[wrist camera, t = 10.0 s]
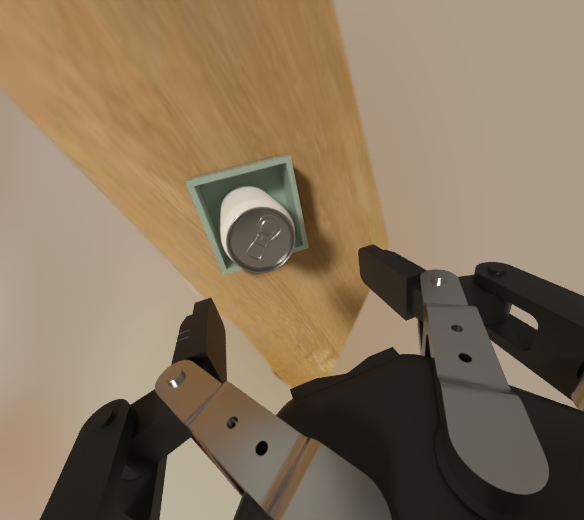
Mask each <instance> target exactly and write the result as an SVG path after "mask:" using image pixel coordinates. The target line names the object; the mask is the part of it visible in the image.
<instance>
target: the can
mask: <svg viewBox="0 0 584 520" xmlns="http://www.w3.org/2000/svg"><path fill="white" fill-rule="evenodd" d="M220 233H221V242H222V245H223V248H224V250H225V252H226V254H227V255H228V256H229V258H230V259H231V260H232V261H233V262H234V263H235V264H236V265H238V266H239V267H240V268H242V269H244V270H246V271H248V272H252V273H267V272H271V271H274V270H276V269H278V268H279V267H281V266H282V265H283V264H285V263H286V262H287V260H288V259H289V258H290V256H291V255H292V253H293V250H294V247H295V241H296V236H295V228H294V223H293V221H292V218H291V216H290V215H289V213H288V212H287V211H286V209H285V208H284V207H283V206H281V205H280V204H279V203H278V202H277V201H276V200H274V199H273V198H272V197H271V196H269V195H268V194H267V193H266V192H264V191H263V190H261V189H259V188H257V187H254V186H250V185H243V186H238V187H236V188H234V189H232V190H231V191H229V192H228V193H227V195H226V196H225V197H224V199H223V201H222V205H221V214H220Z"/></svg>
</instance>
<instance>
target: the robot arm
mask: <svg viewBox="0 0 584 520" xmlns="http://www.w3.org/2000/svg"><path fill="white" fill-rule="evenodd" d="M358 256H359V267H360V275H361V278H362V280H363V282H364V283H365V284H366V285H367V286H368V287H369V288H370V289H371V290H372V291H373V292H375V293H376V294H377V295H378V296H379V297H380V298H381V299H382V300H384V301H385V302H386V303H387V304H388V305H389V306H390V307H391V308H393V310H395V311H396V312H397V313H398V314H399V315H400V316H401V317H402V318H404V319H405V320H409V319H411V318H414V317H416V318H417V319H418V333H419V343H420V353H421V355H415V354H401V355H399V354H398V353H397V352H396V351H395V349H394V348H393V347H391V348H389V349H387V350H384V351H382V352H379V353H377V354H374V355H372V356H370V357H368V358H367V359H365V360H364V361H363V362H362V363H360V364H359V365H358V366H356V367H355V368H354V369H352V370H351V371H350V372H348V373H346V374H342V375H336V376H329V377H322V378H316V379H314V380H311V381H309V382H307V383H304V384H302V385H299V386H297V387H295V388H292V389H290V391H291V394H292V397H293V399H292V400H290V401H289V402H288V403H287V404H286V405H285V406H284V407H283V408H282V409H281V410H280V411H279V412H278V414H277V415H274V414H273V413H271V412H270V411H269V410H267V409H266V408H264V407H263V406H262V405H260V404H259V403H258V402H256V401H255V400H253V399H252V398H251V397H249V396H248V395H247V394H245V393H244V392H242V391H241V390H240V389H238V388H237V387H235V386H234V385H233V384H231V383H230V382H228V381H227V373H226V337H225V328H224V325H223V322H222V320H221V317H220V315H219V313H218V311H217V309H216V307H215V304H214V302H213V300H212V299H211V298H208V299H205V300H202V301H199V302H196V303H195V304H194V310H193V314H192V315H189V316H187V317H186V318H185V319H184V321H183V322H182V324H181V326H180V330H179V335H178V339H177V343H176V347H175V351H174V356H173V360H172V365H171V366H169V367H168V368H167V369H166V370H165V371H164V372H163V373H162V374H161V375H160V376H159V378H158V380H157V382H156V384H155V389H154V390H153V391H151V392H150V393H148V394H147V395H145V396H144V397H142V398H141V399H139V400H137V401H136V402H134V403H133V404H131V405H130V404H129V403H128V402H127V401H126V400H124V399H118V400H114V401H111V402H109V403H107V404H106V405H104V406H102V407H101V408H100V409H98V410H97V411H96V412H95V413H94V414H93V415H92V416H91V417H90V418H89V419H88V420H87V421H86V423H85V424H84V425H83V427H82V429H81V430H80V432H79V435H78V437H77V439H76V441H75V444H74V446H73V448H72V450H71V452H70V454H69V457H68V459H67V461H66V463H65V465H64V468H63V470H62V472H61V474H60V477H59V479H58V481H57V483H56V485H55V487H54V490H53V492H52V494H51V496H50V499H49V501H48V503H47V505H46V507H45V510H44V512H43V514H42V516H41V518H40V520H159V517H160V510H161V501H162V494H163V486H164V478H165V470H166V460H167V455H168V454H169V453H171V452H172V451H173V450H175V449H176V448H177V447H179V446H180V445H181V444H182V443H184V442H185V441H186V440H187V439H189V438H190V437H191V438H192V439H193V440H194V442H195V443H196V444H197V445H198V446H199V447H200V448H201V450H202V451H203V452H204V453H205V454H206V455H207V456H208V457H209V459H210V460H211V461H212V462H213V463H214V464H215V465H216V467H217V468H218V469H219V470H220V471H221V472H222V474H223V475H224V476H225V477H226V478H227V480H228V481H229V482H230V483H231V484H232V486H233V487H234V488H235V489H236V490H237V491H238V492H239V494H240V495H241V496H242V498H241V501H240V504H239V506H238V509H237V511H236V514H235V517H234V519H233V520H584V296H582V295H579V294H577V293H575V292H573V291H570V290H568V289H565V288H563V287H561V286H558V285H556V284H554V283H551V282H549V281H546V280H544V279H541V278H539V277H537V276H534V275H532V274H530V273H527V272H525V271H523V270H520V269H518V268H515V267H513V266H511V265H508V264H504V263H498V262H486V263H481V264H479V265H477V266H476V268H475V274H474V275H470V276H461V277H457V276H456V275H455V274H453V273H451V272H449V271H445V270H428V271H427V270H425V269H423V268H422V267H420V266H418V265H416V264H414V263H413V262H411V261H408V260H407V259H406V258H404V257H401V256H400V255H398V254H396V253H395V252H391V251H388V250H382V249H380V248H379V247H377V246H375V245H373V244H372V245H369V246H366V247H363V248H360V249H359V251H358ZM512 304H513V305H515V306H517V307H519V308H520V309H522V310H524V311H526V312H527V313H529V314H531V315H532V316H533V317H534V318H535V319H536V320H537V322H538V330H536V329H534V328H533V327H531V326H529V325H528V324H526V323H524V322H523V321H521V320H519V319H518V318H516V317H514V316H513V315H511V314H509V313H510V309H511V306H512ZM490 340H492V341H493V342H494V343H495V344H497V345H498V346H499V347H501V348H502V349H503V350H505V351H506V352H508V353H509V354H510V355H512V356H513V357H514V358H516V359H517V360H518V361H520V362H521V363H523V364H524V365H525V366H526V367H528V368H529V369H530V370H532V371H533V372H534V373H536V374H537V375H538V376H540V377H541V378H543V379H544V380H545V381H547V382H548V383H549V384H551V385H552V386H553V387H554V388H556V389H557V390H558V391H560V392H561V393H563V394H564V395H565V396H567V397H568V398H569V399H571V400H572V401H573V402H574V404H575V406H576V407H577V408H578V409H579V410H578V409H576V408H572V407H570V406H567V405H564V404H561V403H558V402H556V401H553V400H550V399H547V398H544V397H541V396H539V395H535V394H533V393H530V392H527V391H524V390H522V389H519V388H516V387H513V386H510V385H508V383H507V380H506V378H505V375H504V373H503V371H502V368H501V366H500V363H499V361H498V358H497V356H496V353H495V351H494V348H493V346H492V343H491V341H490Z"/></svg>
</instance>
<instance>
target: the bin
mask: <svg viewBox="0 0 584 520" xmlns="http://www.w3.org/2000/svg"><path fill="white" fill-rule="evenodd" d="M185 183H186V185H187V187H188V190H189V192H190V195H191V197H192V200H193V202H194V205H195V207H196V210H197V212H198V214H199V217H200V219H201V222H202V224H203V227H204V229H205V232H206V234H207V237H208V239H209V241H210V244H211V246H212V249H213V251H214V254H215V256H216V259H217V261H218V264H219V266H220V268H221V271H222V273H223V276H224V275H227V274H230V273H233V272H236V271H239V270H242V268H240V267H239V266H238V265H236V264H235V263H234V262H233V261H232V260H231V259H230V258H229V256H228V255H227V254H226V252H225V250H224V248H223V245H222V242H221V233H220V214H221V205H222V201H223V199H224V197H225V196H226V195H227V193H228V192H229V191H231V190H232V189H234V188H236V187H238V186H243V185H250V186H254V187H257V188H259V189H261V190H263V191H264V192H266V193H267V194H268V195H269V196H271V197H272V198H273V199H274V200H276V201H277V202H278V203H279V204H280V205H281V206H283V207H284V208H285V209H286V211H287V212H288V213H289V215H290V216H291V218H292V221H293V223H294V228H295V236H296V241H295V247H294V250H293V253H295V252H298V251H301V250H305V249H308V248H309V245H308V240H307V235H306V230H305V225H304V220H303V215H302V210H301V205H300V200H299V195H298V190H297V185H296V180H295V175H294V170H293V165H292V160H291V155H279V156H275V157H271V158H267V159H263V160H259V161H255V162H251V163H247V164H243V165H239V166H235V167H231V168H227V169H223V170H219V171H215V172H211V173H207V174H203V175H199V176H195V177H191V178H190V179H188V180H187V181H185Z"/></svg>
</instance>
